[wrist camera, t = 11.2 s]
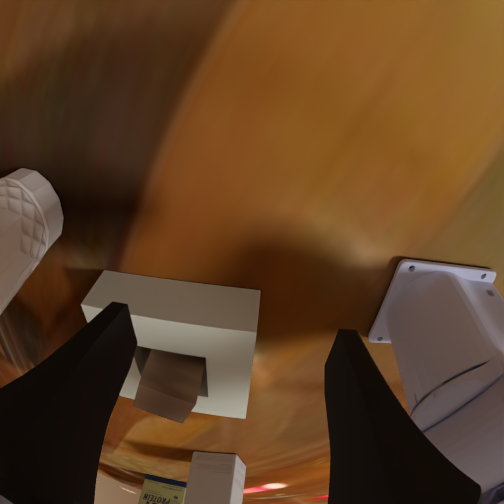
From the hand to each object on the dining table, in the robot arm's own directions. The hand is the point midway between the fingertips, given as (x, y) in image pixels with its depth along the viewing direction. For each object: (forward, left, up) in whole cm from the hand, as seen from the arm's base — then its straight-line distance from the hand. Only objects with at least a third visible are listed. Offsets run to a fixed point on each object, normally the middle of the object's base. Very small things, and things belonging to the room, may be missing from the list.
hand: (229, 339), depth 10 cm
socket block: (+5, +12, -10) cm, 16 cm away
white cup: (+17, +1, -10) cm, 20 cm away
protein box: (+15, +76, -10) cm, 78 cm away
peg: (+5, +12, -10) cm, 16 cm away
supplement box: (+2, +44, -10) cm, 45 cm away
